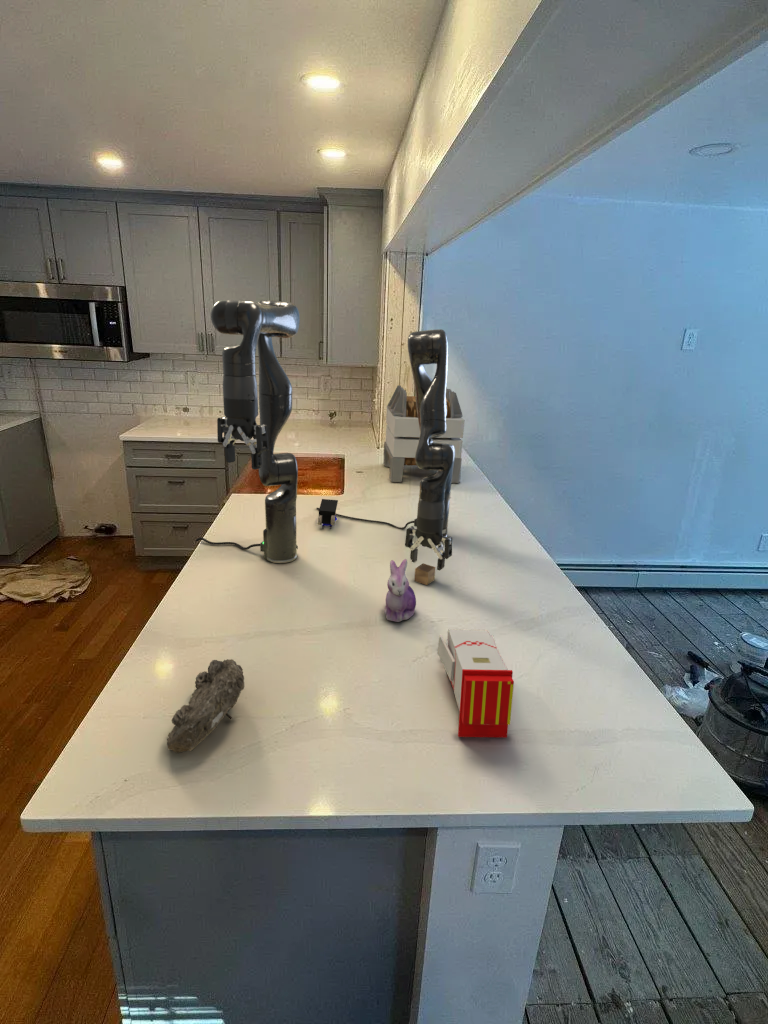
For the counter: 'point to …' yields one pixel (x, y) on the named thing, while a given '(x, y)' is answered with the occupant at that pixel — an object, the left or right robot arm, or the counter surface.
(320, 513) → the figurine character
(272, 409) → the left robot arm
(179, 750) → the fossil
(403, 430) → the grey slatted planter box
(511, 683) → the toy
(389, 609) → the figurine
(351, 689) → the counter surface
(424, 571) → the block
